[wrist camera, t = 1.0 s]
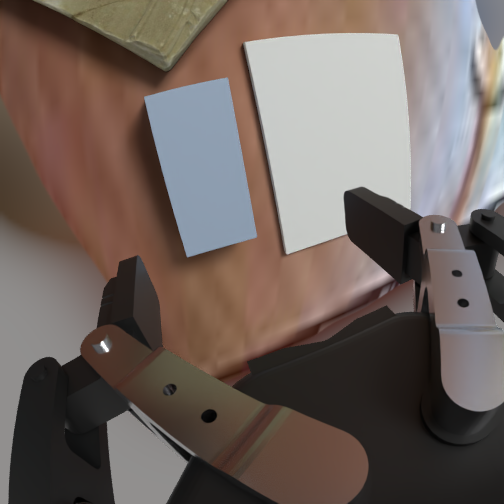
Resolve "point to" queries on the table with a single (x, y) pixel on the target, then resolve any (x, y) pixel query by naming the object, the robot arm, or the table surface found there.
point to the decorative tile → (143, 23)
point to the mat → (330, 126)
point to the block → (202, 164)
